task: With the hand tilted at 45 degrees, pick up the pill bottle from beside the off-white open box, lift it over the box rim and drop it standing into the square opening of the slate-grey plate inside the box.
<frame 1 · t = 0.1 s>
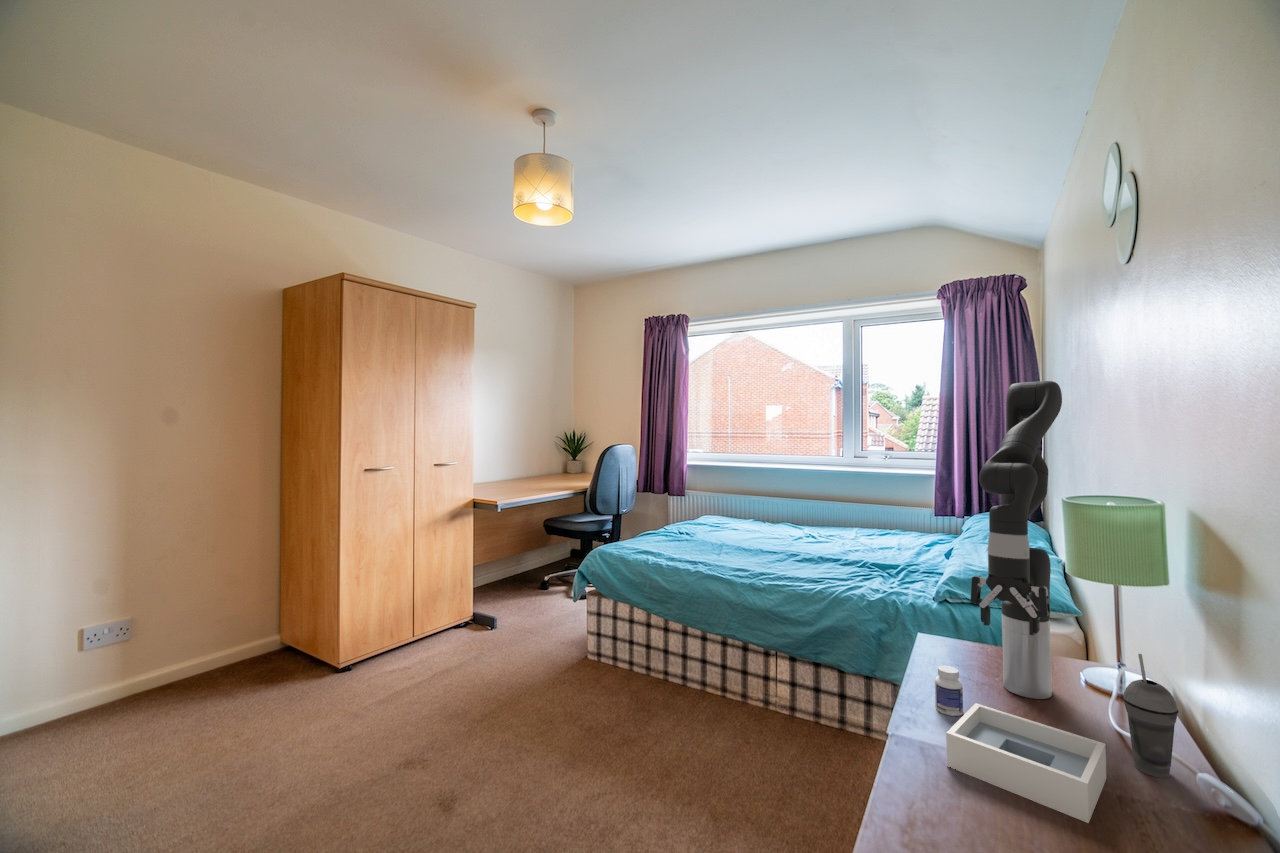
hand: (1009, 629, 119), 17 cm above the table, tool pointing down, fingers open, 8 cm apart
pill bottle: (949, 711, 119), on the table
beverage cup: (1151, 771, 97), on the table
bore box: (1025, 772, 97), on the table
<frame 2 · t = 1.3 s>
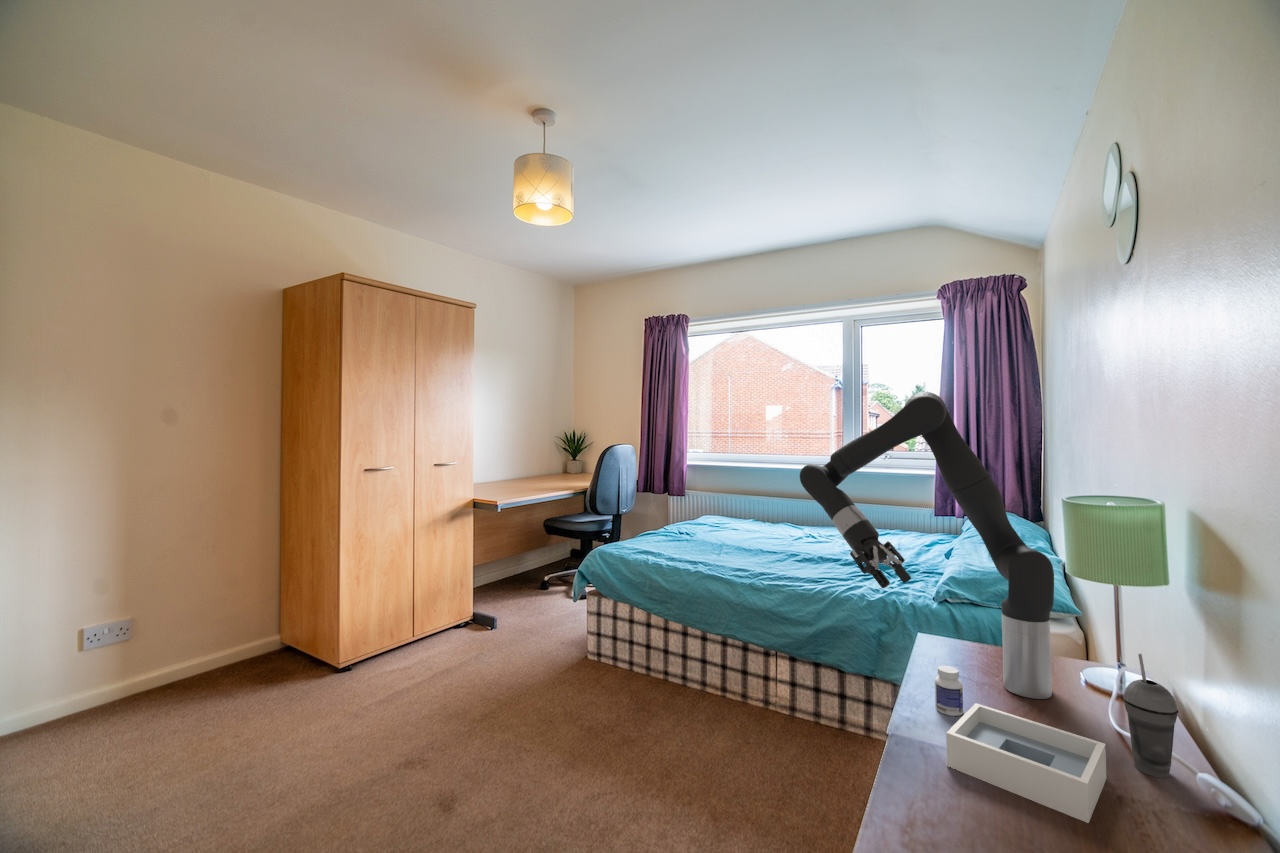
hand: (897, 583, 129), 25 cm above the table, tool tilted 45°, fingers open, 8 cm apart
nothing on the table moved.
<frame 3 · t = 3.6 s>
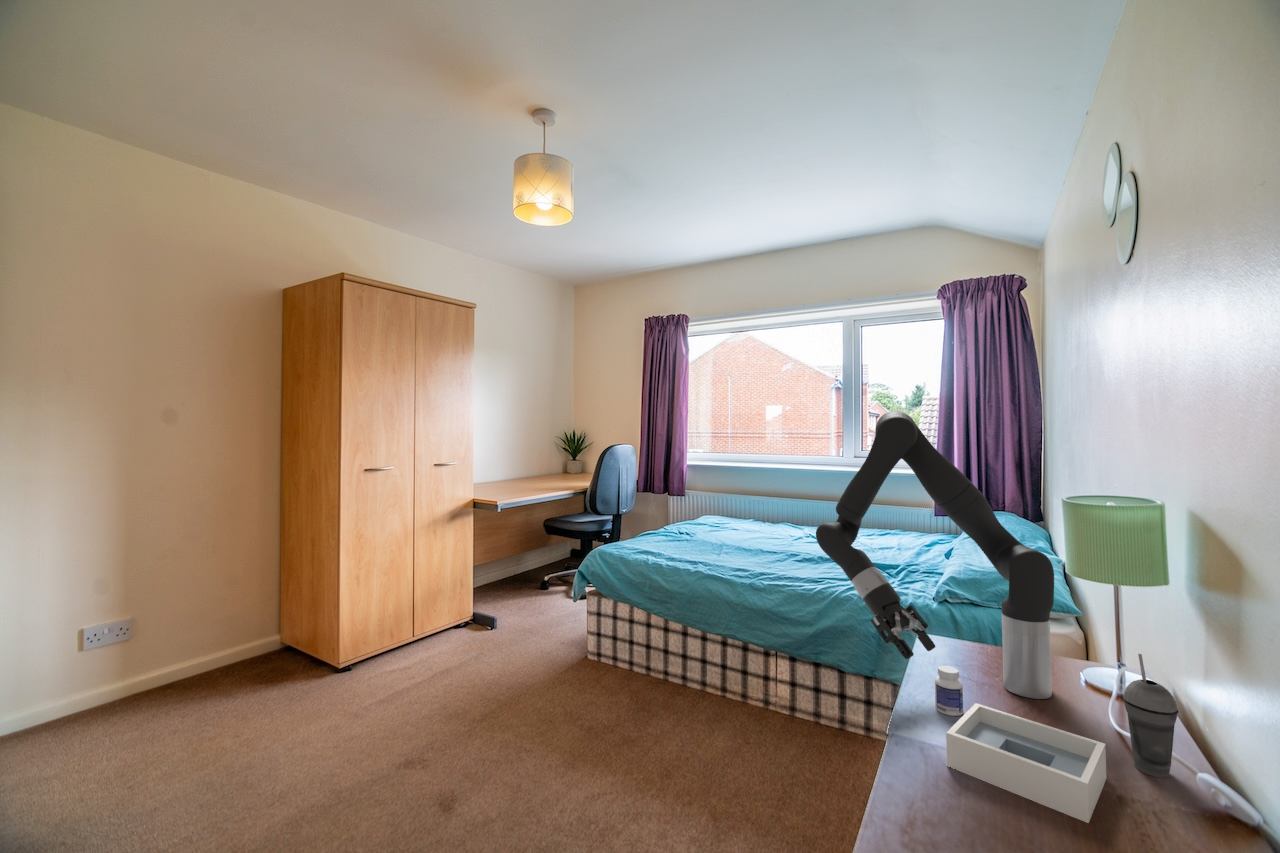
hand: (921, 653, 124), 10 cm above the table, tool tilted 45°, fingers open, 8 cm apart
nothing on the table moved.
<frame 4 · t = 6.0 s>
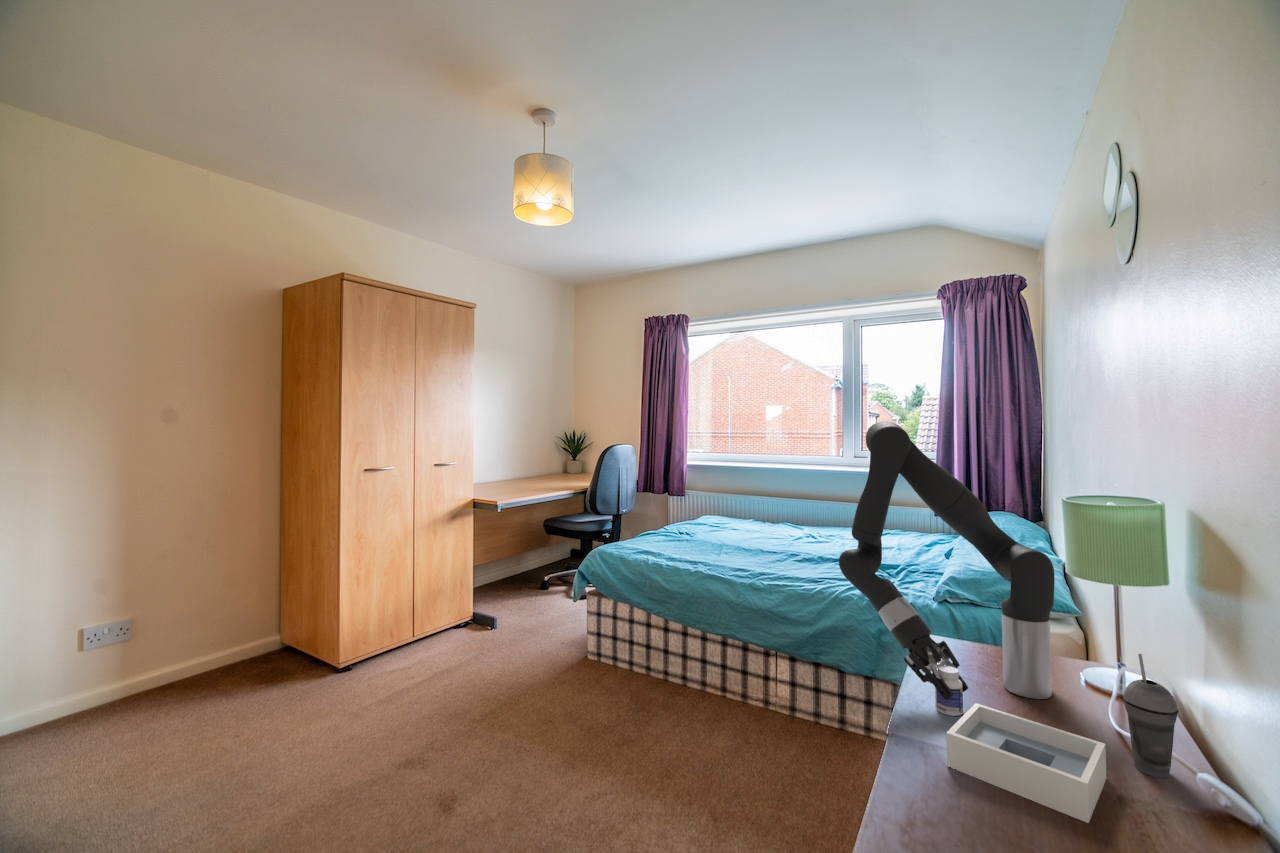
hand: (957, 693, 117), 4 cm above the table, tool tilted 45°, fingers closed on pill bottle, 5 cm apart
pill bottle: (949, 711, 119), on the table, touching gripper
everything else where it was.
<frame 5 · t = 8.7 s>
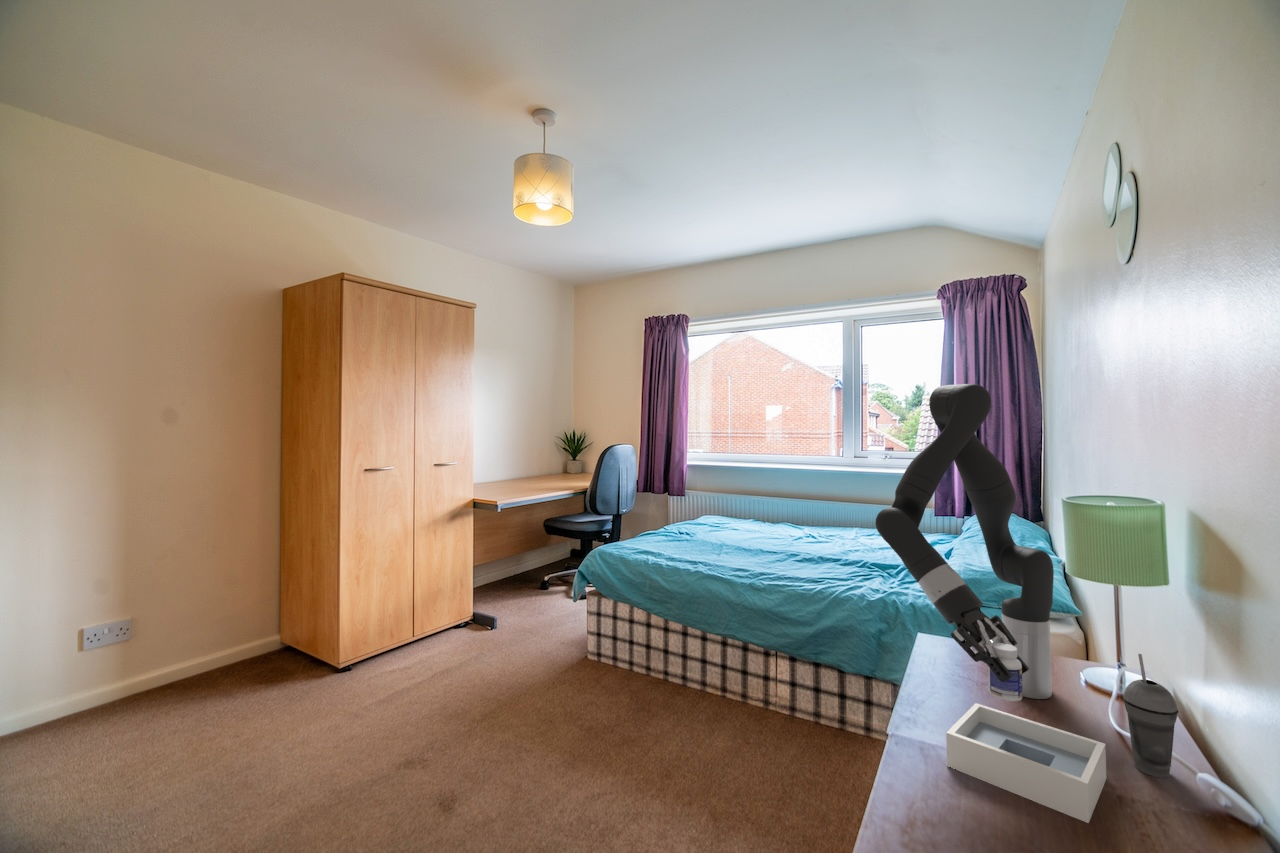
hand: (1015, 675, 99), 16 cm above the table, tool tilted 45°, fingers closed on pill bottle, 5 cm apart
pill bottle: (1005, 696, 101), point 12 cm above the table, touching gripper
everything else where it was.
when the fingers open (8 cm above the table, at t = 11.6 s): pill bottle drops 4 cm, resting in bore box.
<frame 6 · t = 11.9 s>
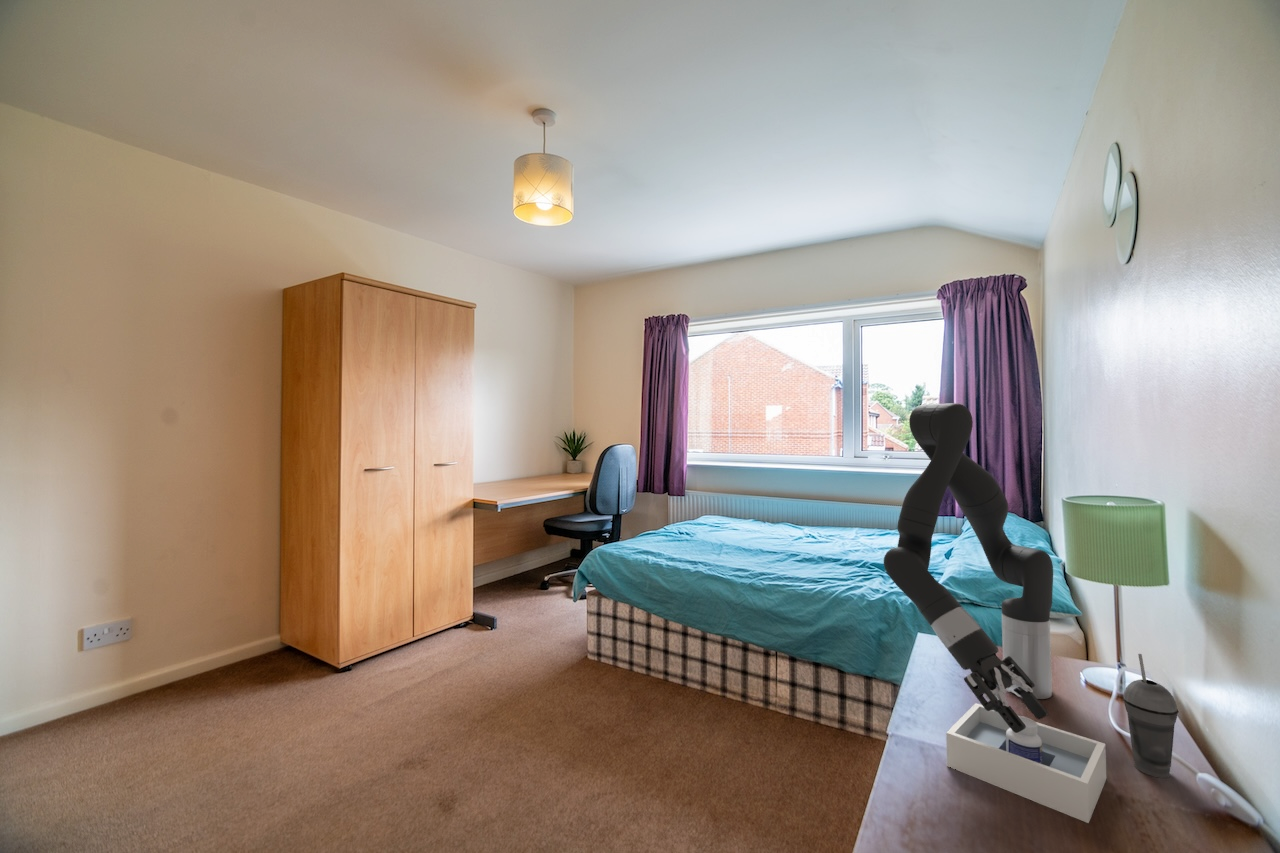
hand: (1032, 723, 96), 9 cm above the table, tool tilted 45°, fingers open, 8 cm apart
pill bottle: (1023, 772, 97), resting in bore box
everything else where it was.
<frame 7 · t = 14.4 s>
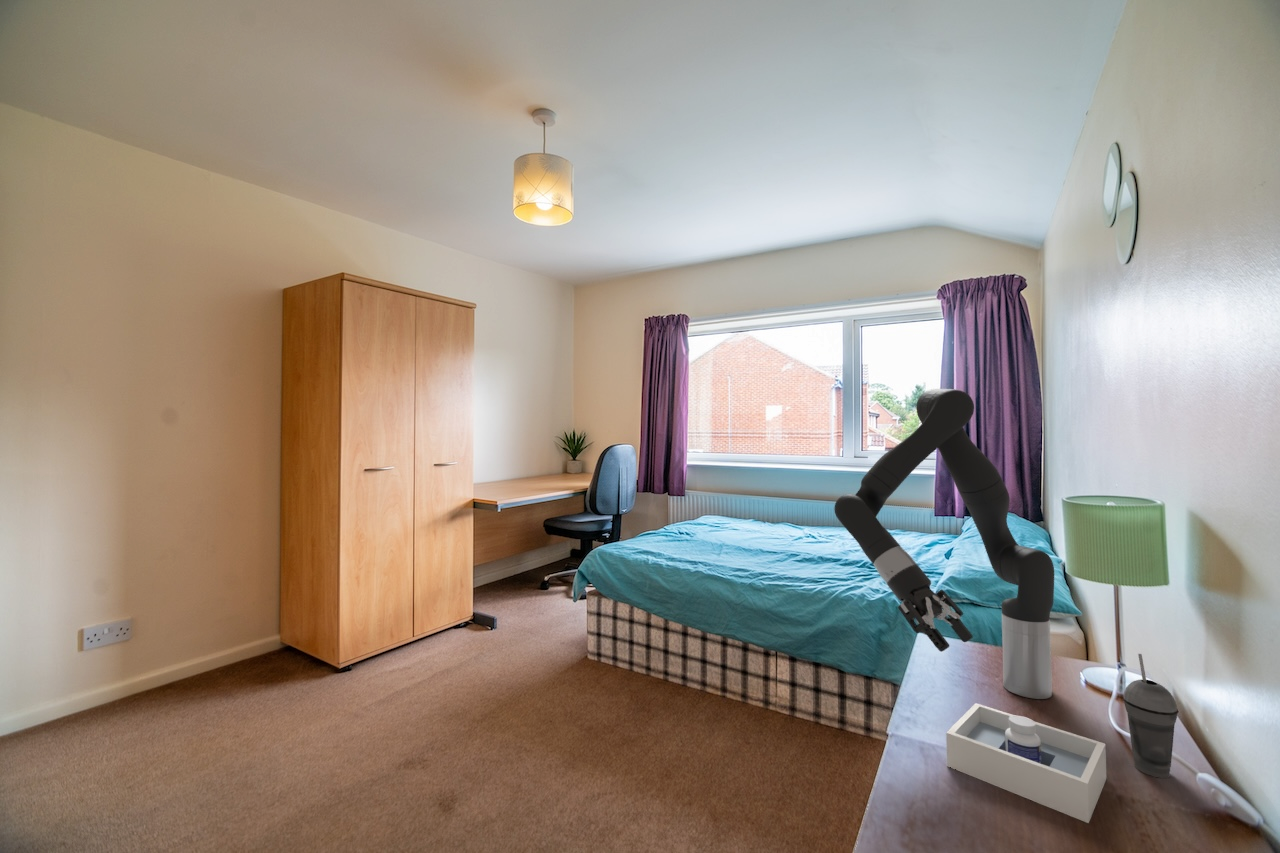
hand: (957, 644, 107), 19 cm above the table, tool tilted 45°, fingers open, 8 cm apart
nothing on the table moved.
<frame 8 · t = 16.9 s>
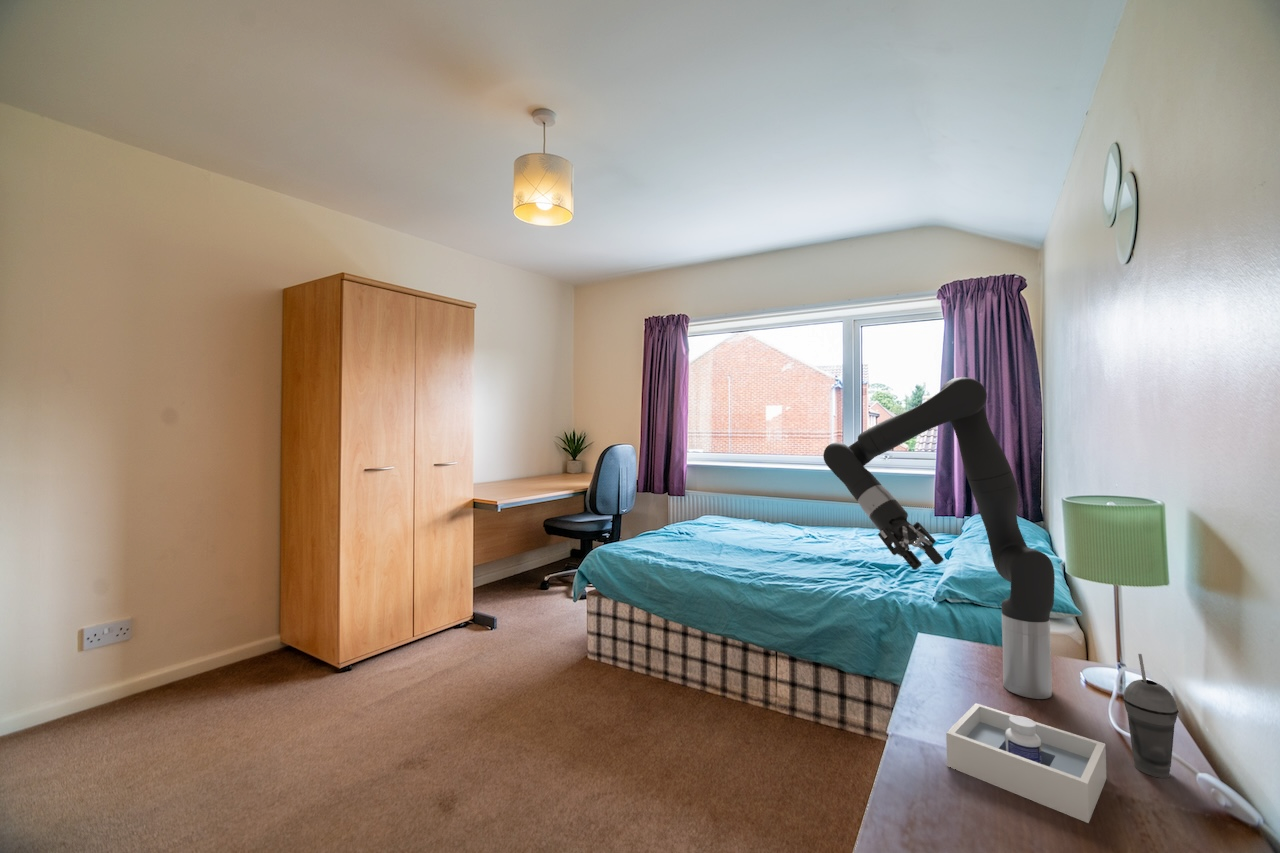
hand: (929, 564, 123), 31 cm above the table, tool tilted 45°, fingers open, 8 cm apart
nothing on the table moved.
at the end: pill bottle 0.3 cm from the bore box (horizontally); pill bottle resting in bore box; pill bottle tilted 0° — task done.
